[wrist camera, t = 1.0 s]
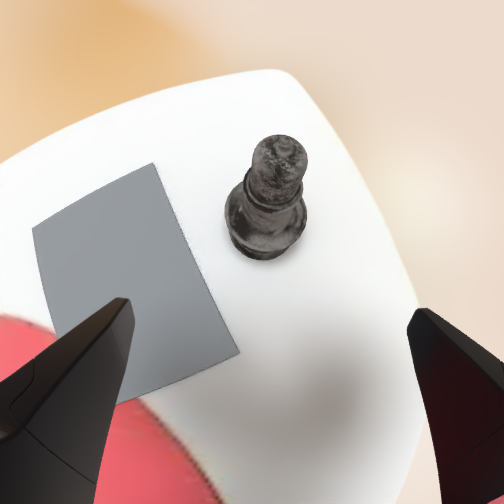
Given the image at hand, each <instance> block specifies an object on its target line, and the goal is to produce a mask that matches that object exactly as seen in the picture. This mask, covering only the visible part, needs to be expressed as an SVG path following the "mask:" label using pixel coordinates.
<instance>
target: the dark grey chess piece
mask: <svg viewBox="0 0 504 504" xmlns="http://www.w3.org/2000/svg"><path fill="white" fill-rule="evenodd" d="M307 164H308V159H307V153H306V151H305V149H304V147H303V146H302V145H301V144H300V143H299V142H298V141H297V140H295V139H294V138H292V137H290V136H286V135H272V136H269V137H267V138H264V139H263V140H262V141H260V142H259V144H258V145H257V146H256V148H255V150H254V153H253V157H252V166H251V168H249V170H248V171H247V173H246V174H245V177H244V180H243V181H242V182H241V183H239V184H238V185H237V186H236V187H235V188H233V190H232V191H231V193H230V194H229V196H228V198H227V201H226V204H225V219H226V223H227V227H228V228H229V233H230V236H231V240H232V242H233V244H234V245H235V247H236V248H237V249H238V250H239V251H240V252H241V253H242V254H244V255H246V256H247V257H249V258H252V259H256V260H269V259H273V258H276V257H277V256H279V255H281V254H282V253H283V252H284V251H285V250H286V249H287V248H288V247H289V246H290V245H292V244H293V243H294V242H295V241H296V240H297V239H298V238H299V237H300V236H301V234H302V232H303V230H304V228H305V226H306V221H307V210H306V205H305V203H304V200H303V198H302V193H303V182H302V178H303V176H304V174H305V171H306V169H307Z"/></svg>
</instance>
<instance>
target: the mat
mask: <svg viewBox="0 0 504 504" xmlns="http://www.w3.org/2000/svg"><path fill="white" fill-rule="evenodd" d="M32 232H33V239H34V245H35V251H36V257H37V262H38V267H39V272H40V277H41V281H42V285H43V289H44V294H45V297H46V301H47V305H48V309H49V312H50V316H51V319H52V322H53V325H54V329H55V332H56V335H57V338H58V339H59V338H61V337H62V336H63V335H65V334H66V333H67V332H69V331H70V330H71V329H73V328H74V327H75V326H77V325H78V324H80V323H81V322H82V321H84V320H85V319H86V318H88V317H89V316H91V315H92V314H93V313H95V312H96V311H98V310H99V309H100V308H102V307H103V306H105V305H106V304H107V303H109V302H110V301H112V300H113V299H114V298H116V297H123V298H128V299H130V301H131V304H132V308H133V312H134V316H135V328H134V333H133V338H132V342H131V347H130V352H129V357H128V363H127V367H126V371H125V375H124V378H123V381H122V385H121V388H120V391H119V395H118V398H117V402H116V404H119V403H122V402H125V401H128V400H130V399H133V398H136V397H138V396H141V395H144V394H146V393H149V392H151V391H154V390H156V389H159V388H161V387H164V386H166V385H169V384H171V383H174V382H176V381H178V380H181V379H183V378H185V377H188V376H190V375H192V374H195V373H197V372H199V371H202V370H204V369H206V368H208V367H210V366H213V365H215V364H217V363H219V362H221V361H224V360H226V359H228V358H230V357H232V356H234V355H236V354H238V353H239V351H238V349H237V347H236V345H235V343H234V341H233V339H232V337H231V335H230V333H229V331H228V329H227V327H226V325H225V323H224V321H223V319H222V317H221V315H220V313H219V311H218V309H217V307H216V305H215V303H214V301H213V299H212V297H211V295H210V293H209V290H208V288H207V286H206V284H205V282H204V280H203V278H202V276H201V273H200V271H199V269H198V267H197V265H196V263H195V260H194V258H193V256H192V254H191V252H190V249H189V247H188V245H187V243H186V240H185V238H184V236H183V234H182V231H181V229H180V227H179V224H178V222H177V220H176V218H175V215H174V213H173V210H172V208H171V206H170V203H169V201H168V199H167V196H166V194H165V191H164V189H163V186H162V184H161V182H160V179H159V177H158V174H157V172H156V169H155V167H154V164H153V163H150V164H148V165H146V166H144V167H142V168H140V169H137V170H135V171H133V172H131V173H129V174H127V175H125V176H123V177H121V178H119V179H117V180H115V181H113V182H111V183H109V184H107V185H105V186H103V187H101V188H100V189H98V190H96V191H94V192H92V193H90V194H88V195H87V196H85V197H83V198H81V199H80V200H78V201H76V202H74V203H73V204H71V205H69V206H67V207H66V208H64V209H62V210H61V211H59V212H57V213H56V214H54V215H52V216H51V217H49V218H48V219H46V220H44V221H43V222H41V223H40V224H38V225H37V226H35V227H34V228H32Z"/></svg>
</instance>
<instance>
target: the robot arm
mask: <svg viewBox="0 0 504 504" xmlns="http://www.w3.org/2000/svg"><path fill="white" fill-rule="evenodd" d="M134 328H135V316H134V312H133V308H132V304H131V301H130V299H128V298H123V297H116V298H114V299H113V300H112V301H110V302H109V303H107V304H106V305H105V306H103V307H102V308H100V309H99V310H98V311H96V312H95V313H93V314H92V315H91V316H89V317H88V318H86V319H85V320H84V321H82V322H81V323H80V324H78V325H77V326H75V327H74V328H73V329H71V330H70V331H69V332H67V333H66V334H65V335H63V336H62V337H61V338H59V339H58V340H57V341H55V342H54V343H53V344H51V345H50V346H49V347H47V348H46V349H45V350H43V351H42V352H41V353H39V354H38V355H37V356H36V357H35V359H32V360H30V361H29V362H28V363H26V364H25V365H24V366H22V367H21V368H20V369H18V370H17V371H16V372H14V373H13V374H12V375H10V376H9V377H7V378H6V379H4V380H3V381H1V382H0V504H93V503H94V497H95V491H96V484H97V480H98V475H99V470H100V466H101V461H102V456H103V452H104V448H105V444H106V440H107V435H108V431H109V428H110V424H111V420H112V416H113V412H114V409H115V405H116V402H117V398H118V395H119V391H120V388H121V385H122V381H123V378H124V375H125V371H126V367H127V363H128V357H129V352H130V347H131V342H132V338H133V333H134ZM407 336H408V340H409V345H410V349H411V354H412V359H413V364H414V369H415V373H416V377H417V380H418V384H419V387H420V391H421V395H422V398H423V402H424V406H425V410H426V414H427V418H428V423H429V427H430V432H431V436H432V441H433V446H434V451H435V457H436V463H437V468H438V476H439V483H440V491H441V500H442V504H504V363H503V362H502V361H500V360H499V359H498V358H496V357H495V356H494V355H493V354H491V353H490V352H489V351H487V350H486V349H484V348H483V347H482V346H480V345H479V344H478V343H476V342H475V341H474V340H472V339H470V337H468V336H467V335H465V334H464V333H463V332H461V331H460V330H458V329H457V328H455V327H454V326H453V325H451V324H450V323H449V322H447V321H446V320H444V319H443V318H441V317H440V316H439V315H437V314H436V313H434V312H433V311H431V310H430V309H428V308H418V309H417V310H416V311H415V312H414V314H413V316H412V318H411V320H410V322H409V324H408V326H407Z"/></svg>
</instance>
